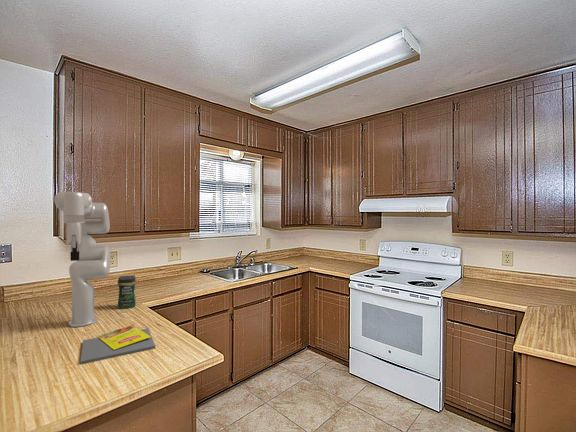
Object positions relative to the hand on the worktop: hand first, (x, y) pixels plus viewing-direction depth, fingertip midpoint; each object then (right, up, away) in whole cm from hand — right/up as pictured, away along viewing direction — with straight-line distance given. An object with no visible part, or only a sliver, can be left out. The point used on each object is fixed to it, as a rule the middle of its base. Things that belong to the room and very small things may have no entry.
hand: (75, 260), depth 139 cm
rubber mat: (+24, -35, -7) cm, 43 cm away
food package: (+16, -34, +5) cm, 37 cm away
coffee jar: (0, -34, +44) cm, 56 cm away
